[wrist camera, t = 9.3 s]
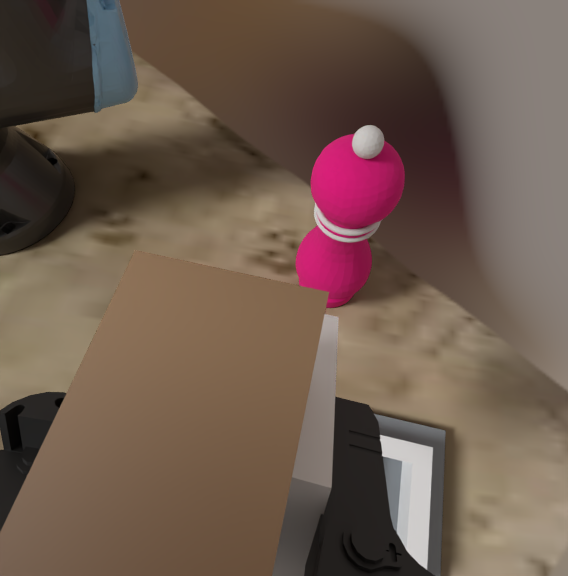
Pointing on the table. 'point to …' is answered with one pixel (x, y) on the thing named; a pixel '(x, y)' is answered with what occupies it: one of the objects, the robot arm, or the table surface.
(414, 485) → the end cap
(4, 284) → the table surface
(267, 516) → the wooden slat
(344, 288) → the pepper mill
